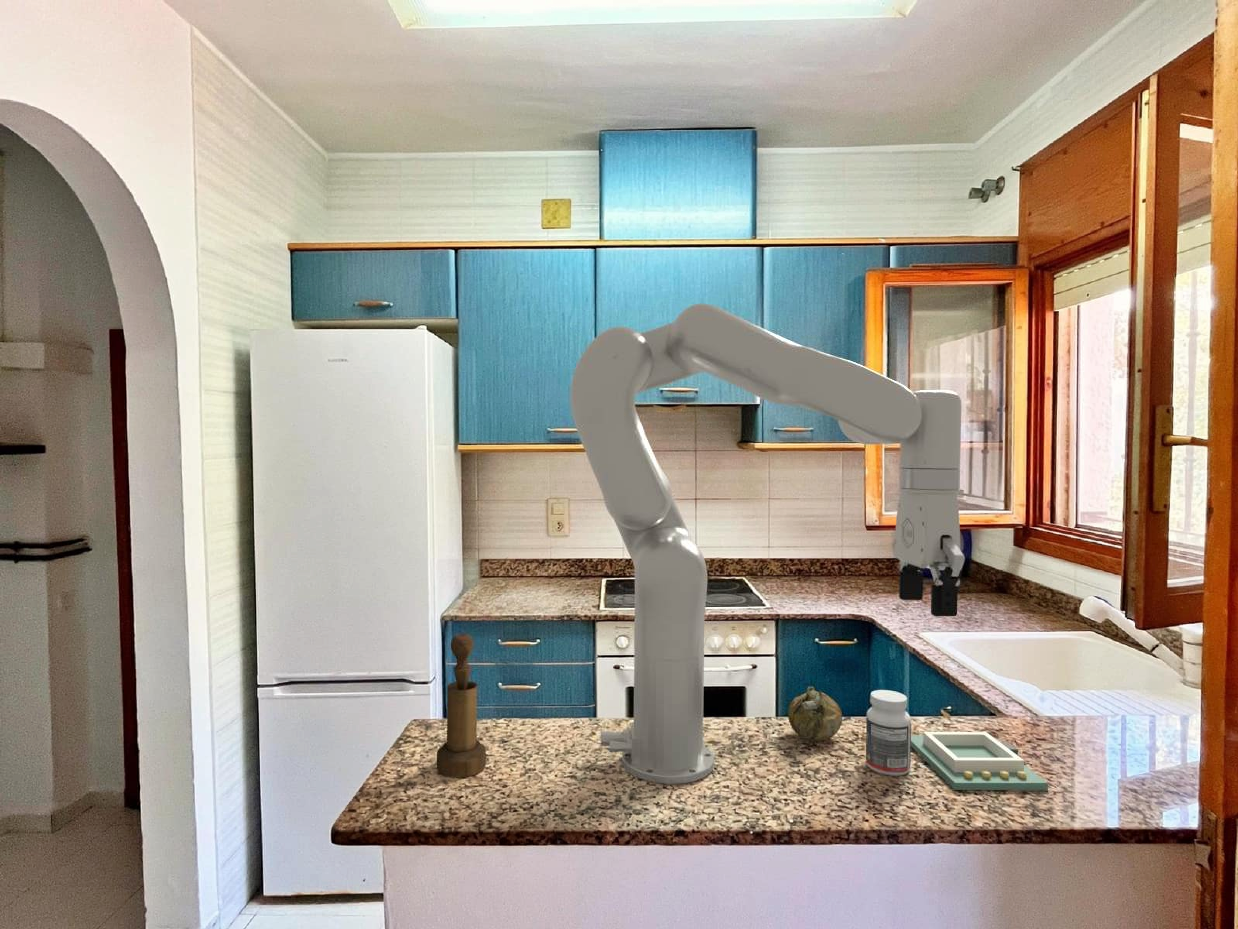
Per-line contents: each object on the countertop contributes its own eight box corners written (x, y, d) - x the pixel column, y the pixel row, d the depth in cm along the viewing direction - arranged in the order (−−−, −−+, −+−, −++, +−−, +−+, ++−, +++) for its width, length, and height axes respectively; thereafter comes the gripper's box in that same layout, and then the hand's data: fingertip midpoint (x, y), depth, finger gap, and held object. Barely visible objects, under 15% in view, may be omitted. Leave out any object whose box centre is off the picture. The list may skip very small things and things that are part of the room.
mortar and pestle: (496, 766, 95) (496, 634, 94) (455, 783, 90) (456, 644, 90) (466, 752, 99) (467, 625, 99) (426, 767, 94) (427, 634, 94)
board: (955, 790, 89) (955, 770, 89) (904, 741, 104) (905, 724, 104) (1048, 790, 89) (1048, 770, 89) (984, 741, 104) (985, 724, 104)
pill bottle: (874, 754, 100) (875, 685, 99) (915, 766, 96) (917, 694, 96) (859, 768, 95) (860, 696, 95) (902, 781, 92) (903, 706, 91)
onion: (852, 746, 102) (853, 692, 102) (801, 750, 101) (802, 695, 101) (827, 726, 110) (828, 675, 110) (779, 729, 108) (780, 678, 108)
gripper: (877, 479, 104) (874, 594, 104) (931, 485, 86) (928, 622, 87) (927, 479, 104) (924, 594, 104) (991, 485, 87) (988, 623, 87)
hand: (926, 607), depth 96 cm, fingers open, 9 cm apart
